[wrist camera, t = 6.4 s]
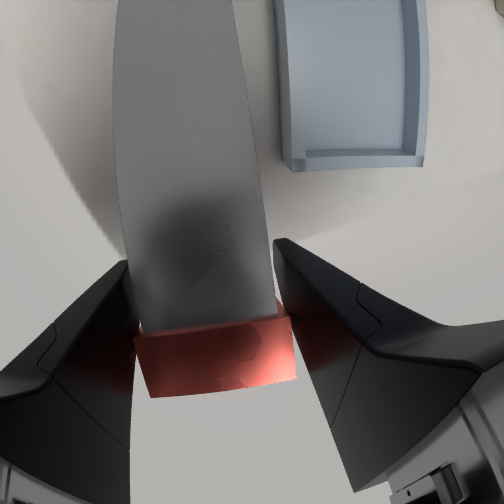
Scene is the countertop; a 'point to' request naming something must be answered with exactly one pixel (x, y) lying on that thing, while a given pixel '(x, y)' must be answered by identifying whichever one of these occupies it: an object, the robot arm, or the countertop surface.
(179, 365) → the pin
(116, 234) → the countertop surface
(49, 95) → the countertop surface
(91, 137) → the countertop surface
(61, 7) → the countertop surface
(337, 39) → the tray
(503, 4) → the skincare box
